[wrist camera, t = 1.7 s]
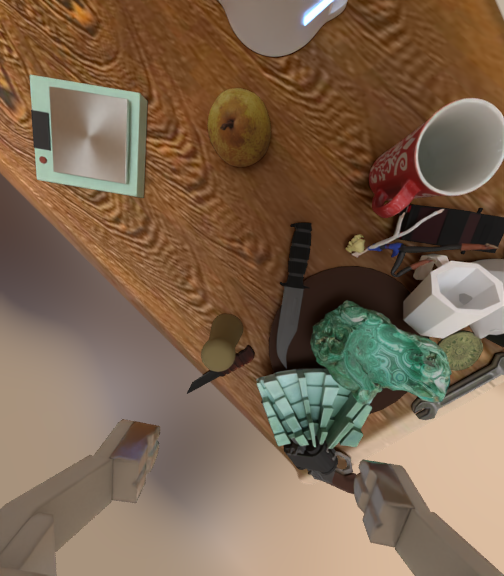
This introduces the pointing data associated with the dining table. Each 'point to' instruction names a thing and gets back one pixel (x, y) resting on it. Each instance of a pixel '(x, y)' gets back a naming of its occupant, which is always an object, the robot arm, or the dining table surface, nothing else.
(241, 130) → the fruit
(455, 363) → the medallion
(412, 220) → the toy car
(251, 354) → the knife
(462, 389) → the wrench
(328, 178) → the dining table surface
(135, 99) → the scale
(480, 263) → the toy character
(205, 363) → the brown rounded elongated piece
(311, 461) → the toy gun
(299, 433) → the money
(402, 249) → the figurine
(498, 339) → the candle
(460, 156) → the mug
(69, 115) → the scale pan
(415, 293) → the white geometric planter
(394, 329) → the mineral
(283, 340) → the knife
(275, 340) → the plate
